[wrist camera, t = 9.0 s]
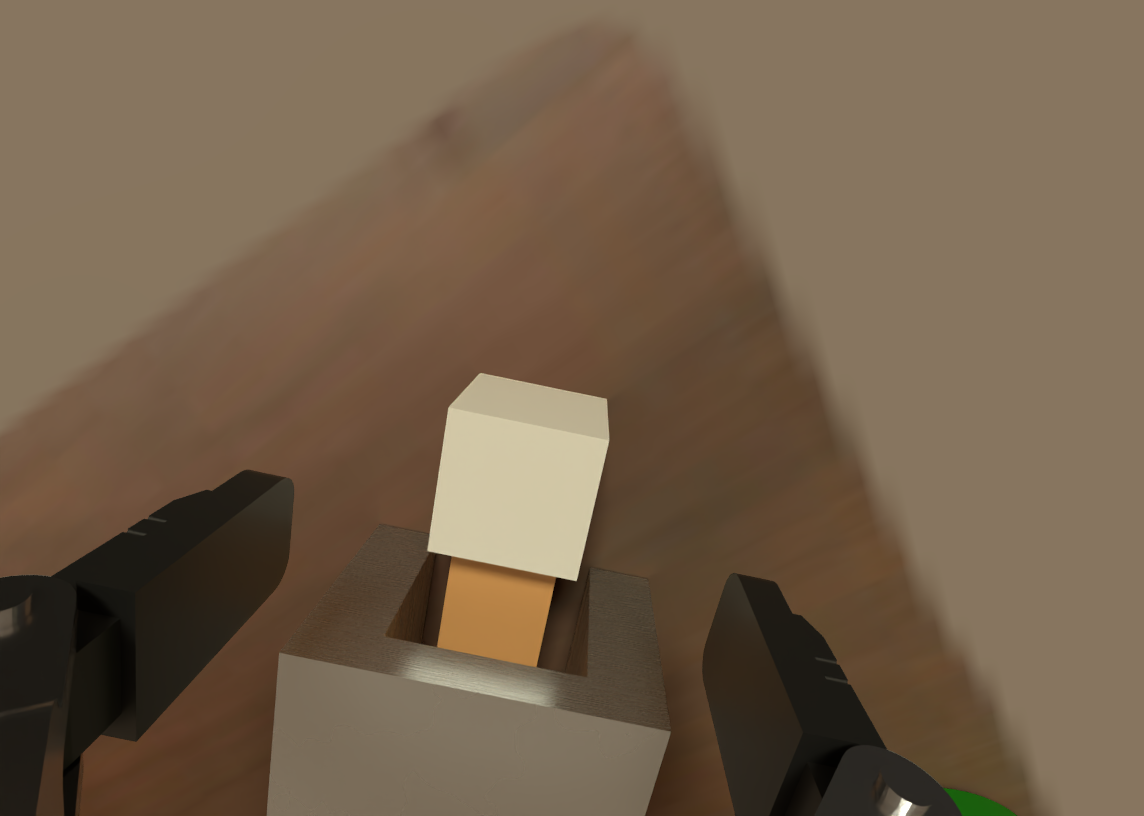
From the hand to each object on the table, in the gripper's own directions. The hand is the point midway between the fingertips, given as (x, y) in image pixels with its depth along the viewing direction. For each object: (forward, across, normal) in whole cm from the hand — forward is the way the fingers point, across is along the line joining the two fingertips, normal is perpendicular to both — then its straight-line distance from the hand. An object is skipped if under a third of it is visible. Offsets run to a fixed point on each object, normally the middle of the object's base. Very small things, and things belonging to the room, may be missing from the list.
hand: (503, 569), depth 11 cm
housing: (+8, 0, +7) cm, 11 cm away
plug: (+8, 0, +6) cm, 10 cm away
